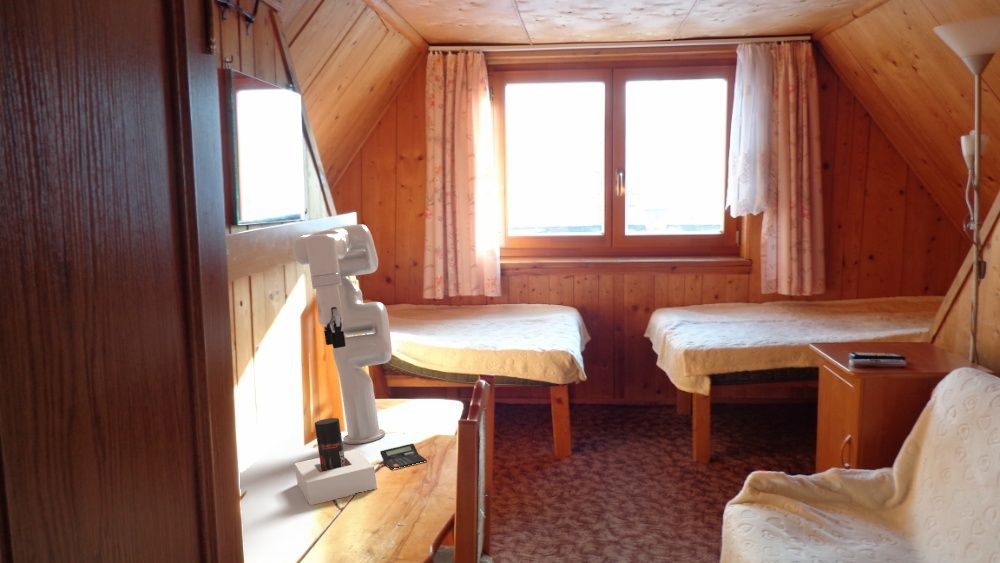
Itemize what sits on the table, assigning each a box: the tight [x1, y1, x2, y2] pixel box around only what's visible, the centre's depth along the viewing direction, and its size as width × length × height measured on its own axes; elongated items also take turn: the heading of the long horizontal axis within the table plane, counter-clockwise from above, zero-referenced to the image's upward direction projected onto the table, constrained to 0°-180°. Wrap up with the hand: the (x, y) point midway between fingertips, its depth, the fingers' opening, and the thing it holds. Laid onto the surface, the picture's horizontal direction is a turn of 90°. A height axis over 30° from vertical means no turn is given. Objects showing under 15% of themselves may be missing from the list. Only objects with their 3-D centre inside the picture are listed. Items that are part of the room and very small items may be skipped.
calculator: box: [379, 443, 428, 470], centre depth 208 cm, size 9×12×3 cm
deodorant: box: [314, 417, 346, 472], centre depth 193 cm, size 6×6×15 cm
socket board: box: [293, 448, 378, 506], centre depth 193 cm, size 20×16×6 cm
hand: (335, 345), depth 205 cm, fingers open, 9 cm apart
